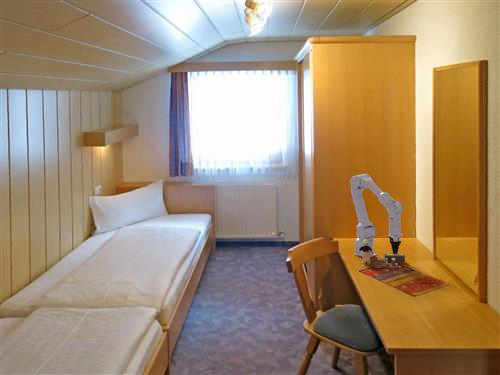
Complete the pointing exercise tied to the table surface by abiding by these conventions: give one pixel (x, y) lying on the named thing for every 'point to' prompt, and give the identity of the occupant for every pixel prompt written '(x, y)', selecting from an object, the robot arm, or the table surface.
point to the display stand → (386, 264)
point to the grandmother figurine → (365, 251)
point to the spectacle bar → (398, 258)
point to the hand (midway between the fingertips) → (394, 251)
